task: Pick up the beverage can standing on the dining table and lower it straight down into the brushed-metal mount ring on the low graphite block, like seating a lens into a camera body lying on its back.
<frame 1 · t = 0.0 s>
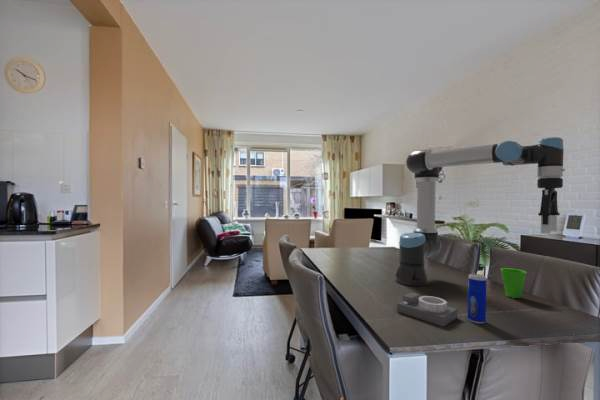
hand: (549, 232, 114), 28 cm above the table, fingers open, 13 cm apart
beverage can: (476, 321, 96), on the table
cup: (512, 297, 122), on the table
camera body: (426, 314, 101), on the table
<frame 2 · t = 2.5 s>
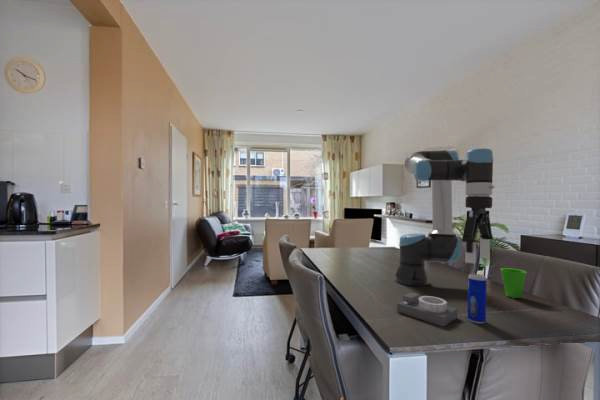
hand: (477, 260, 96), 20 cm above the table, fingers open, 13 cm apart
nothing on the table moved.
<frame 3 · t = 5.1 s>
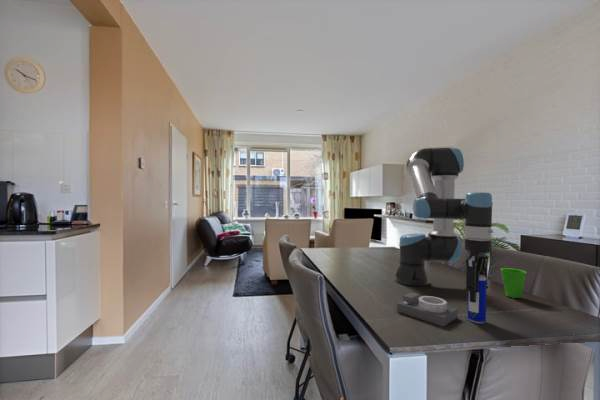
hand: (476, 309, 96), 4 cm above the table, fingers closed on beverage can, 5 cm apart
beverage can: (476, 321, 96), on the table, touching gripper
everything else where it was.
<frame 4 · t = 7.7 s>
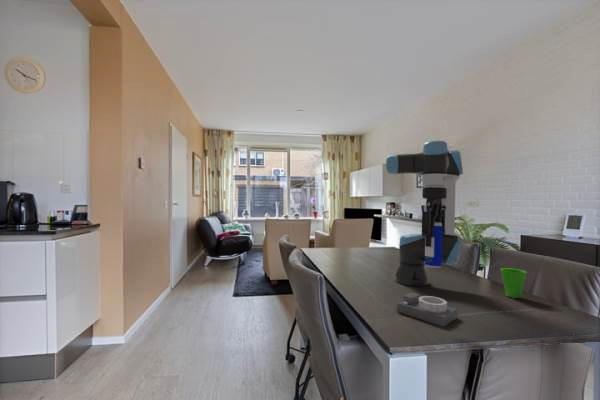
hand: (433, 255, 99), 21 cm above the table, fingers closed on beverage can, 5 cm apart
beverage can: (433, 266, 99), point 17 cm above the table, touching gripper
everything else where it was.
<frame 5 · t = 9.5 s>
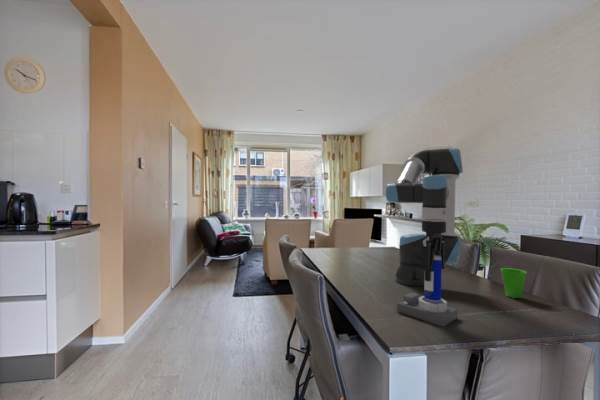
hand: (432, 288, 99), 9 cm above the table, fingers closed on beverage can, 5 cm apart
beverage can: (432, 300, 99), point 5 cm above the table, touching gripper
everything else where it was.
when the fingers open (8 cm above the table, at t = 10.5 s): beverage can drops 1 cm, resting on camera body.
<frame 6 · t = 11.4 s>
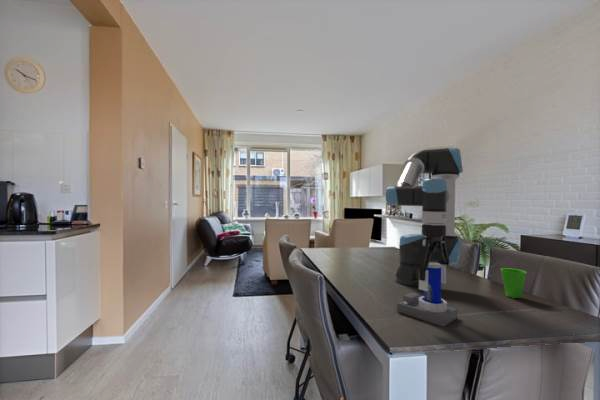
hand: (432, 286, 99), 10 cm above the table, fingers open, 13 cm apart
beverage can: (432, 308, 99), point 3 cm above the table, touching camera body
everything else where it was.
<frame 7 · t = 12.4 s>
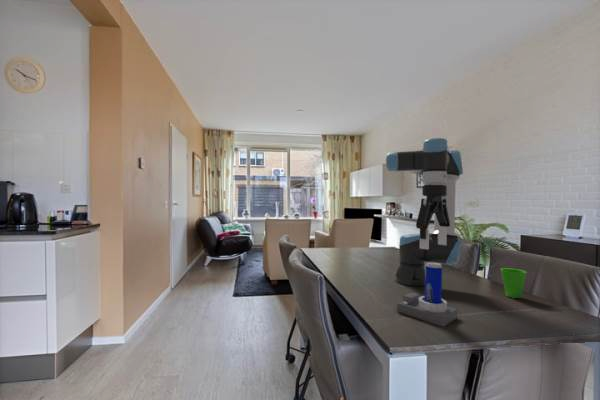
hand: (433, 246, 99), 24 cm above the table, fingers open, 13 cm apart
nothing on the table moved.
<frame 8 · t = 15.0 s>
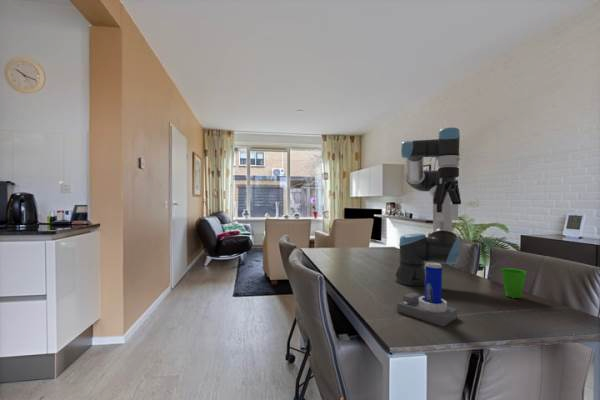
hand: (447, 220, 116), 32 cm above the table, fingers open, 13 cm apart
nothing on the table moved.
at the end: beverage can 0.1 cm from the target spot on the camera body, point 2.8 cm above the camera body's base; beverage can tilted 0°; the gripper is holding nothing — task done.
